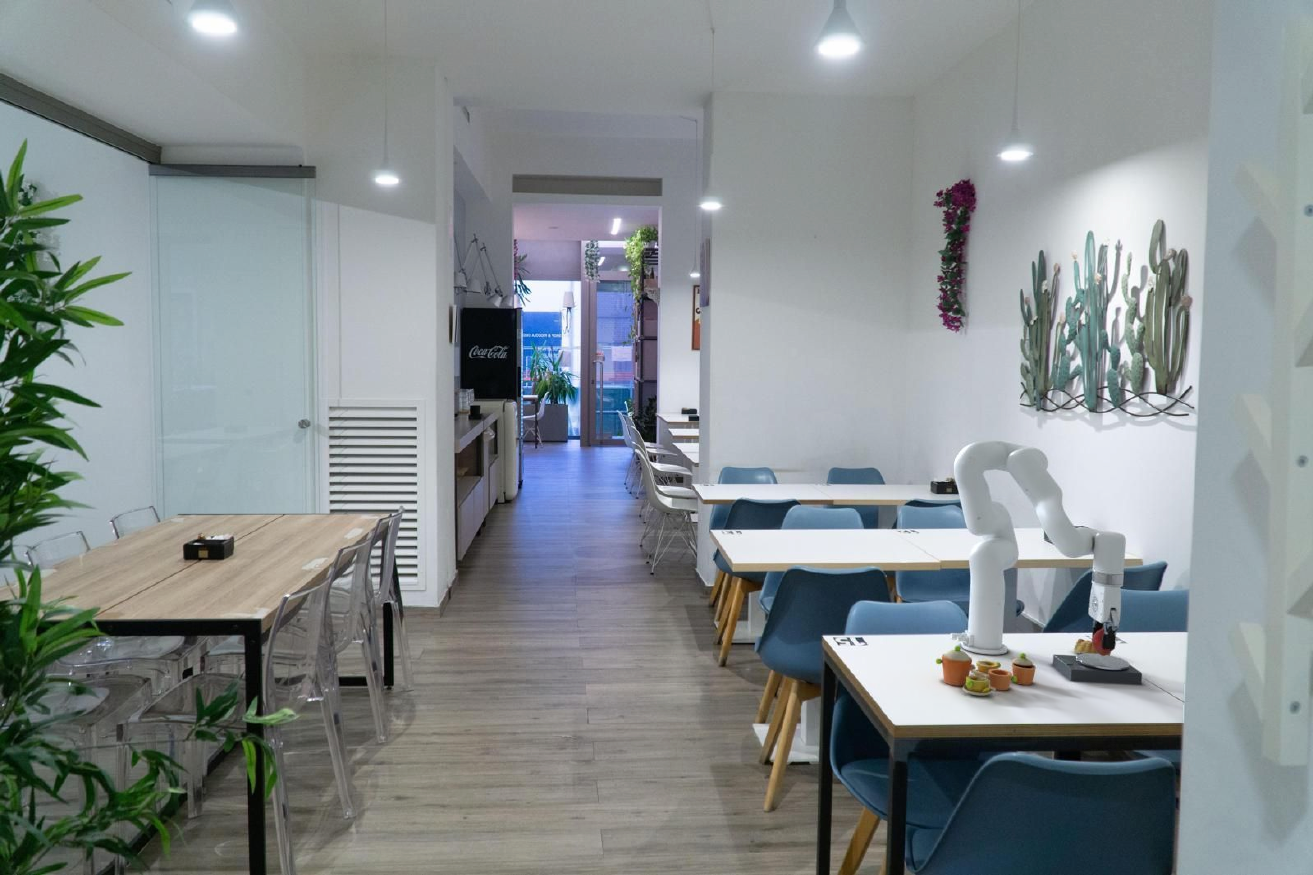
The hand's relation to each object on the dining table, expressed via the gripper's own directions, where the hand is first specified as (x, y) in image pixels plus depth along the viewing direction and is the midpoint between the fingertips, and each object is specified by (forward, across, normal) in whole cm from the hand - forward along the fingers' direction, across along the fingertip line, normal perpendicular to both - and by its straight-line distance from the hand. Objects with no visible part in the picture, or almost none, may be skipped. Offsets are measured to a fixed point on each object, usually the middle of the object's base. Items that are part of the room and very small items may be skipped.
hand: (1103, 644), depth 264 cm
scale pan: (+5, 0, 0) cm, 5 cm away
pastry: (+8, -20, +4) cm, 22 cm away
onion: (+3, 0, 0) cm, 3 cm away
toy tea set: (+8, +13, -33) cm, 37 cm away
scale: (+8, 0, -2) cm, 8 cm away
